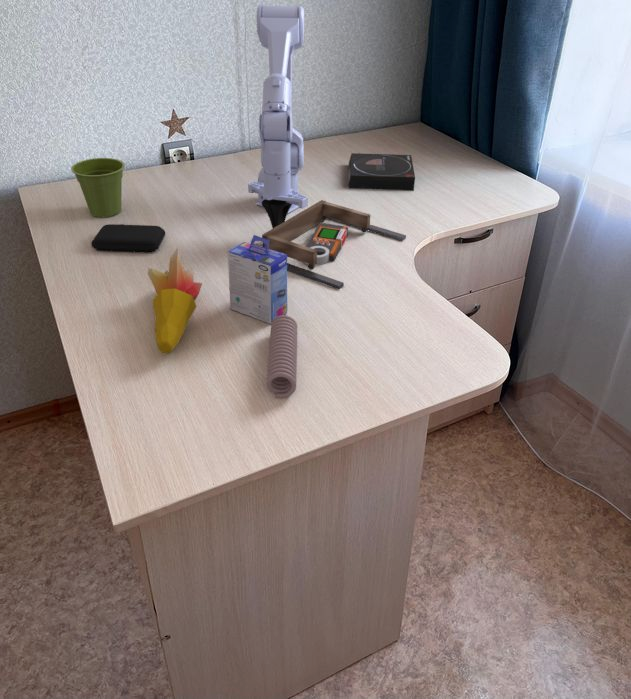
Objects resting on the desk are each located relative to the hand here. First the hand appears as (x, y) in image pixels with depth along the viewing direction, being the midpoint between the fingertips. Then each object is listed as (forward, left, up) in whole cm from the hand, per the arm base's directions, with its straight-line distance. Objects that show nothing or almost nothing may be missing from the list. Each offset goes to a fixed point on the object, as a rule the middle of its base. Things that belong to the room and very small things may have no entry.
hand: (278, 230), depth 146 cm
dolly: (+8, +4, -2) cm, 9 cm away
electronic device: (+10, +3, -3) cm, 11 cm away
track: (+9, +4, -3) cm, 11 cm away
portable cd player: (-1, +46, -3) cm, 46 cm away
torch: (+4, -37, -3) cm, 38 cm away
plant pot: (-43, -12, -3) cm, 44 cm away
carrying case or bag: (-26, -19, -3) cm, 33 cm away
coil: (+28, -36, -3) cm, 45 cm away
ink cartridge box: (+14, -25, -3) cm, 29 cm away
